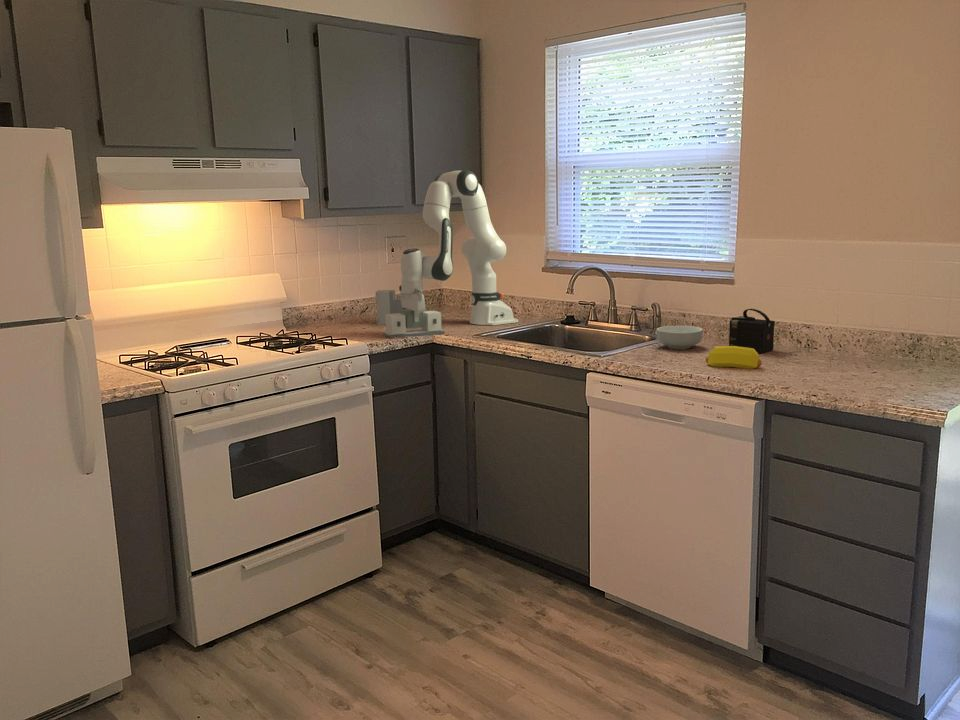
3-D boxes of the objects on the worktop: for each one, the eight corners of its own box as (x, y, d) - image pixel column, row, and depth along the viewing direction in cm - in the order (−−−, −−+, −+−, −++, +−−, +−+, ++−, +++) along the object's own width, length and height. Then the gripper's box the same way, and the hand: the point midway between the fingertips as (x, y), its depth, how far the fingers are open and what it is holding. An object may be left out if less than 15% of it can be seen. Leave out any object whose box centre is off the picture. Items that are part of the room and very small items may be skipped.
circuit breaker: (407, 324, 379) (406, 291, 376) (376, 324, 379) (375, 292, 376) (409, 321, 386) (408, 289, 383) (378, 322, 387) (377, 290, 384)
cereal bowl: (651, 344, 315) (651, 325, 314) (693, 343, 316) (694, 324, 315) (663, 352, 299) (663, 332, 297) (708, 350, 299) (709, 331, 298)
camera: (741, 345, 308) (743, 306, 306) (776, 350, 298) (778, 309, 296) (725, 349, 301) (727, 308, 298) (761, 354, 291) (763, 312, 288)
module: (419, 325, 351) (418, 308, 350) (423, 327, 347) (422, 309, 345) (403, 327, 349) (403, 309, 347) (407, 328, 344) (407, 310, 343)
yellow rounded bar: (760, 371, 264) (763, 366, 270) (761, 350, 262) (764, 346, 269) (703, 367, 271) (707, 362, 278) (703, 347, 270) (707, 343, 277)
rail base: (436, 330, 358) (435, 310, 356) (444, 333, 349) (444, 312, 347) (383, 335, 348) (382, 314, 346) (390, 338, 339) (389, 316, 337)
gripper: (428, 289, 337) (429, 323, 339) (411, 285, 355) (412, 317, 358) (413, 290, 334) (414, 324, 337) (397, 286, 352) (398, 318, 355)
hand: (413, 320), depth 347 cm, fingers closed on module, 5 cm apart
